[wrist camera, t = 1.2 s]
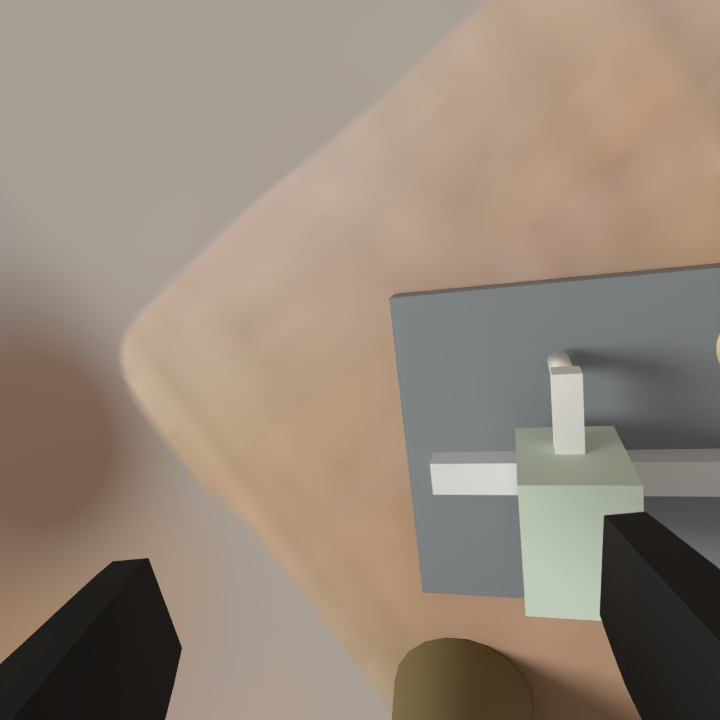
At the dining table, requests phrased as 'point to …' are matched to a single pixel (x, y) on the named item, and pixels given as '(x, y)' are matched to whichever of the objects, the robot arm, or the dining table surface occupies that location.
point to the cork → (459, 684)
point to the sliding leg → (569, 500)
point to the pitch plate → (534, 409)
